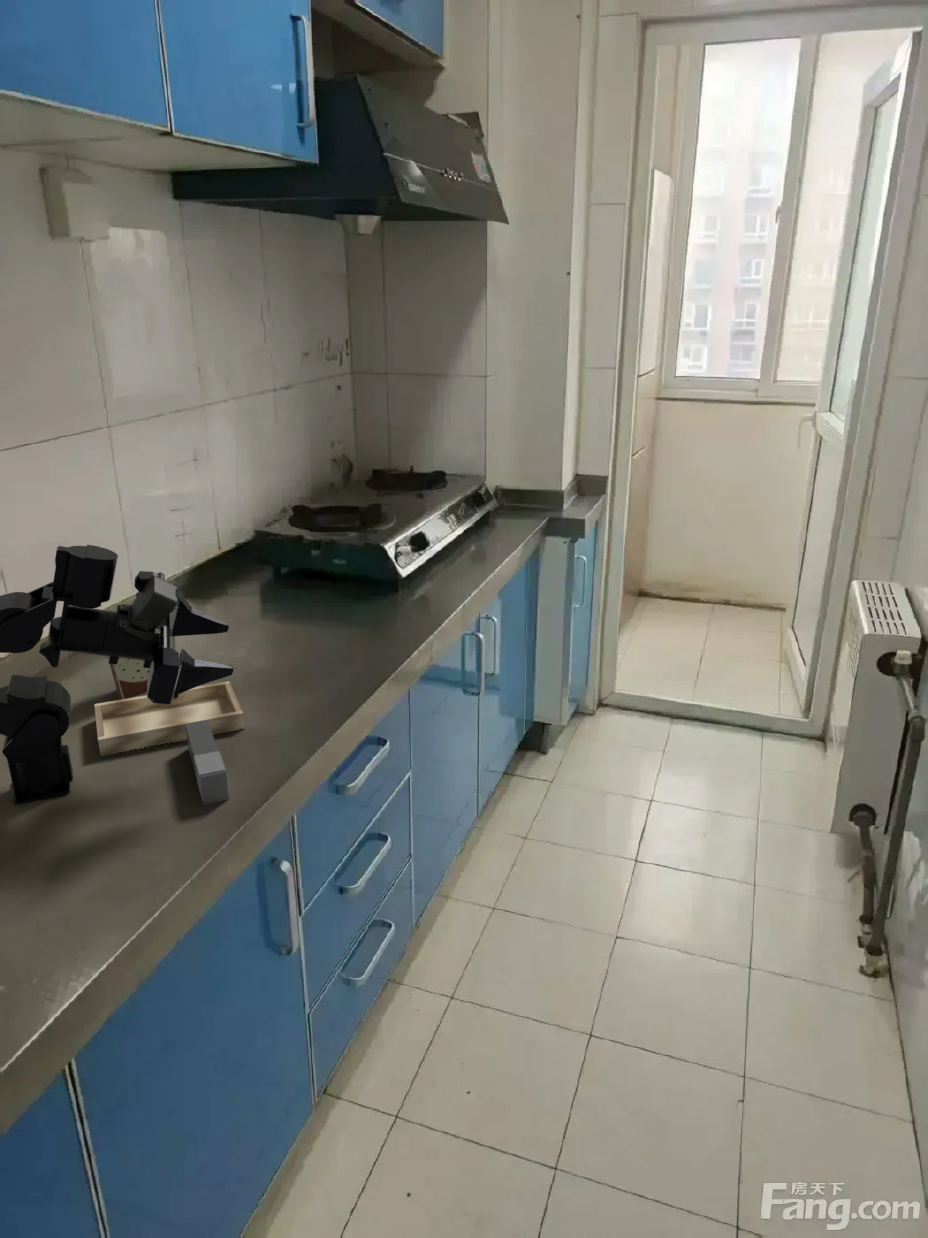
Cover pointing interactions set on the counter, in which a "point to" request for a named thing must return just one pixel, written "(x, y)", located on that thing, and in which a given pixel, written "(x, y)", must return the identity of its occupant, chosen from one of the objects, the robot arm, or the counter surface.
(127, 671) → the food container
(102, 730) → the tray
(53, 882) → the counter surface
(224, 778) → the tall gray brick
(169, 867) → the counter surface
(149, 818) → the counter surface
